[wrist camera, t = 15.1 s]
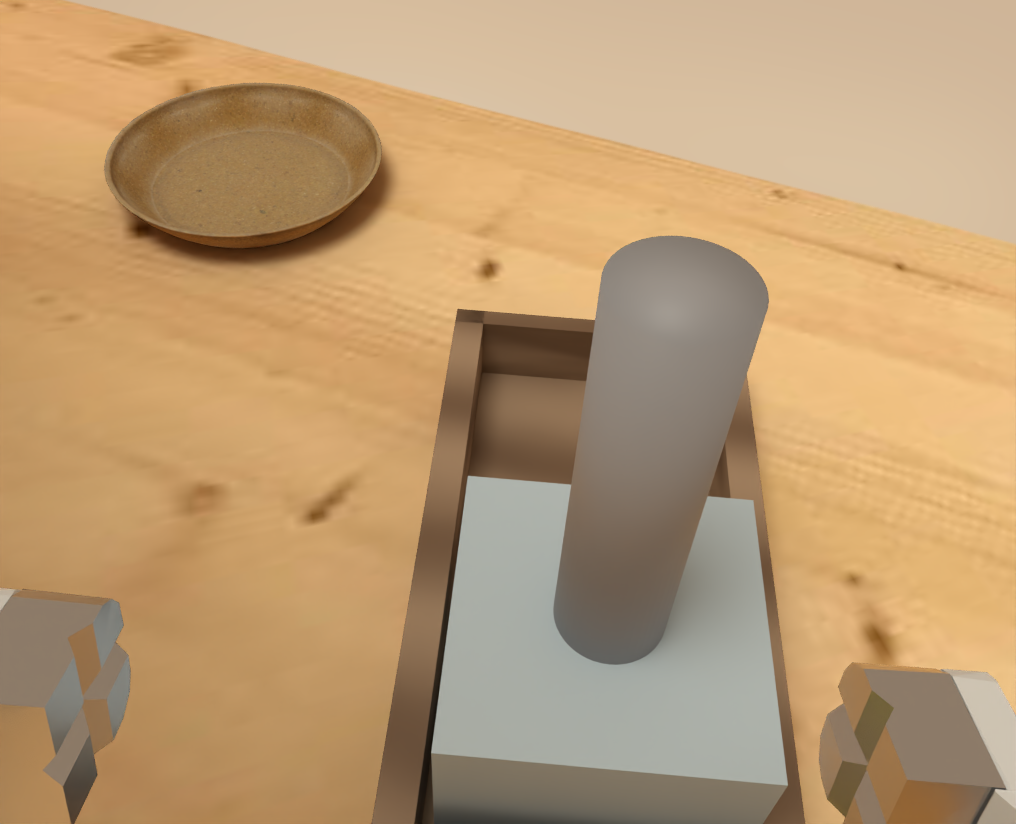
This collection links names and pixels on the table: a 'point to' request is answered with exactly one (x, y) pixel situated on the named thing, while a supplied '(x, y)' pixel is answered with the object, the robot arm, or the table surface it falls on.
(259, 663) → the table surface
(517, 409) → the bay
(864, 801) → the robot arm
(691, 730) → the gray post-topped cube
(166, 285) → the table surface
